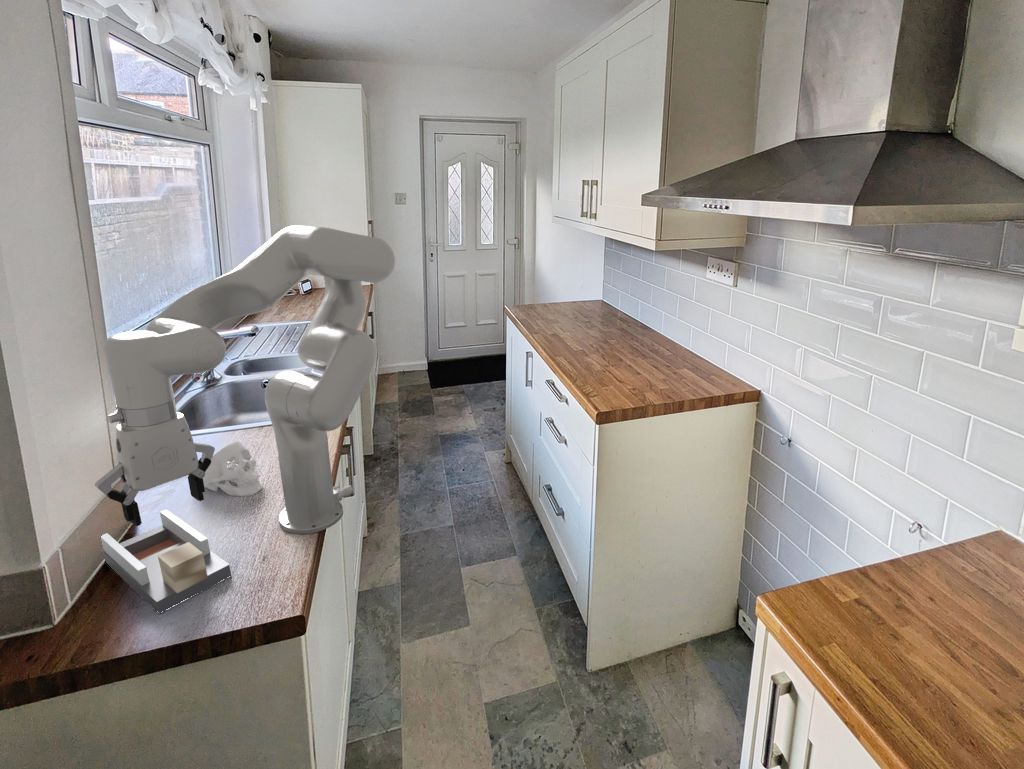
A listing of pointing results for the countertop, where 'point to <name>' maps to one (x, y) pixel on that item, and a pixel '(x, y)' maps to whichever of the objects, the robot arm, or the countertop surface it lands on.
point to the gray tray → (142, 564)
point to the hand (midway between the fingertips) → (167, 509)
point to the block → (182, 567)
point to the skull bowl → (233, 471)
